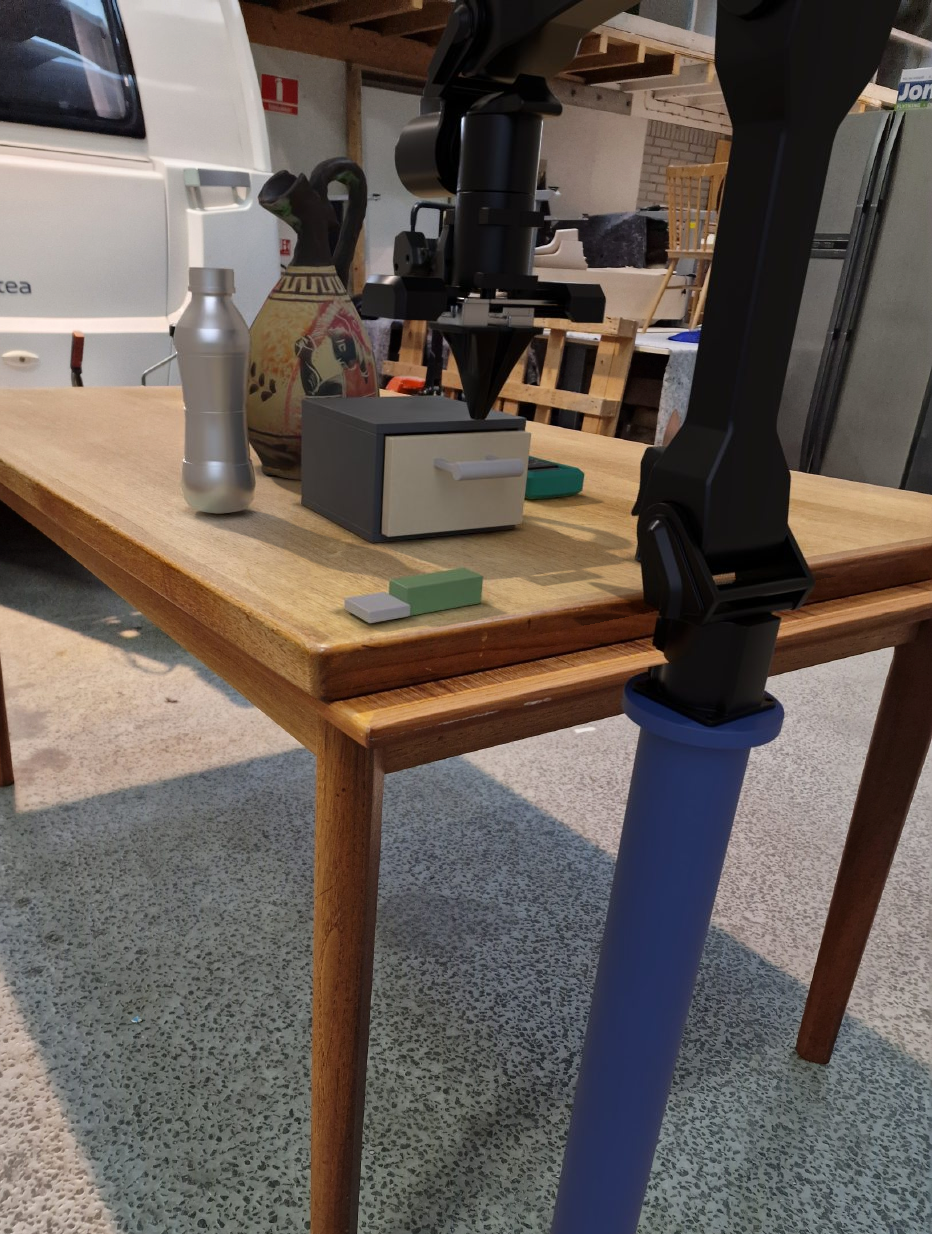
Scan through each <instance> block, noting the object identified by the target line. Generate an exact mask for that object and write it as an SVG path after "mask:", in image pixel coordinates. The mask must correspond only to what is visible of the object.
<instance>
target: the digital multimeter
mask: <svg viewBox="0 0 932 1234" xmlns="http://www.w3.org/2000/svg"><path fill="white" fill-rule="evenodd" d="M584 480H585V472H584V471H582V470H581V469H580V467H575V466H571V465H568V464H564V463H563V464H562V463H559V462H555V461H551V460H548V459H543V458H540V457H536V456H532V455H529V460H528V469H527V479H526V488H525V497H524V499H525V498H526V499H529V500H544V499H554V498H563V497H569V496H575V495H578V494H579V493H581V492H582V491H583V488H584V482H585V481H584Z"/></svg>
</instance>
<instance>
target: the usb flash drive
mask: <svg viewBox="0 0 932 1234" xmlns="http://www.w3.org/2000/svg"><path fill="white" fill-rule="evenodd" d="M388 581H389V582H388V592H386V591H380V592H373V593H368V594H362V595H361V594H360V595H355V596H349V597H345V598H344V610H346V611H347V612H349V613H351V614H352V615H354V616H355V617H357V618H359V619H361V620H363V621H364V622H366V623H368V624H374V623H379V622H384V621H391V620H395V619H401V618H402V619H403V618H408V617H412V616H417V615H423V614H428V613H434V612H439V611H444V610H445V611H446V610H451V609H456V608H461V607H466V606H473V605H478V604H482V595H483V585H484V575H482V574H480V573H478V572H475V571H473V570H470V569H468V568H466V567H459V568H453V569H447V570H441V571H434V572H429V573H427V572H426V573H421V574H415V575H409V576H402V577H395V578H391V579H389V580H388Z"/></svg>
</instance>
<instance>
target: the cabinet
mask: <svg viewBox="0 0 932 1234" xmlns="http://www.w3.org/2000/svg"><path fill="white" fill-rule="evenodd" d="M527 421H528V420H527V417H524V416H518V415H515V414H511V413H508V412H504V411H500V410H497V409H493V408H491V410H490V412H489V414H488V416H487V418H486V419H485V420H474V419H471V418H470V415H469V411H468V407H467V403H466V401H462V400H458V399H455V398H451V397H446V396H443V395H435V394H434V395H399V396H398V395H397V396H396V395H395V396H393V395H392V396H391V395H390V396H380V397H349V398H307V399H302V448H301V480H300V484H301V485H300V495H301V496H300V503H301V504H300V505H302V506H304V507H306V508H307V509H309V510H311V511H313V512H315V513H317V514H318V515H320V516H322V517H324V518H325V519H327V520H329V521H331V522H332V523H335V524H336V525H338V526H340V527H342V528H344V529H345V530H347V531H349V532H351V533H353V534H355V535H357V536H358V537H360V538H362V539H364V540H366V541H367V542H368V543H371V544H375V543H386V542H396V541H398V542H399V541H406V540H417V539H427V538H435V537H448V536H455V535H456V536H457V535H467V534H476V533H488V532H497V531H499V532H500V531H508V530H515V529H516V525H506V526H496V527H485V528H475V529H465V530H454V531H444V532H434V533H423V534H413V535H403V536H392V537H388V536H386V535H384V534H382V525H380V522H381V498H382V475H383V451H384V434H393V433H416V432H440V431H463V430H486V429H503V430H507V431H526V427H527Z"/></svg>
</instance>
